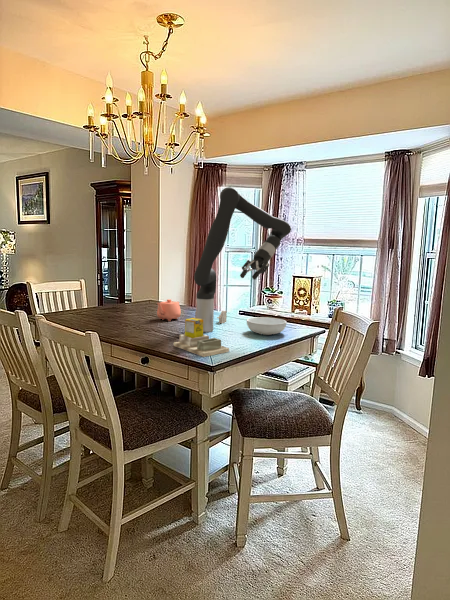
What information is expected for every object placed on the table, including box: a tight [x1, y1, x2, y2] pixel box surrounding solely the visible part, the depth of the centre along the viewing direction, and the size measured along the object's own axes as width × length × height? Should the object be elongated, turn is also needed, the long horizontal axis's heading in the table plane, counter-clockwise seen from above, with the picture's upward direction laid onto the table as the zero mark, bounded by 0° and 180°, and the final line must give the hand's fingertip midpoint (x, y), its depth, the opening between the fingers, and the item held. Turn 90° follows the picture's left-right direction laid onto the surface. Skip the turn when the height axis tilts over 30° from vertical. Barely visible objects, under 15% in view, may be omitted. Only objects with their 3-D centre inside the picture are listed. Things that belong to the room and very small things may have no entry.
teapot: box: [156, 298, 182, 322], centre depth 246 cm, size 20×12×12 cm, turn 148°
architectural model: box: [216, 310, 228, 325], centre depth 242 cm, size 3×7×7 cm, turn 153°
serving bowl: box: [246, 316, 287, 336], centre depth 218 cm, size 21×21×7 cm
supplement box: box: [184, 317, 204, 338], centre depth 187 cm, size 6×6×11 cm
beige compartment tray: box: [173, 333, 230, 358], centre depth 184 cm, size 22×14×5 cm, turn 41°
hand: (247, 277), depth 200 cm, fingers open, 8 cm apart
